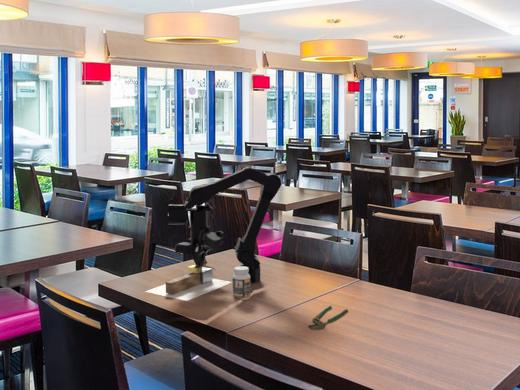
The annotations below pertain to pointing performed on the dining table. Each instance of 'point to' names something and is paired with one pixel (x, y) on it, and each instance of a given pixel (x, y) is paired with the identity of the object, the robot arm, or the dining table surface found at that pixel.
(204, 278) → the hinge block
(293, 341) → the dining table surface
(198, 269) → the block
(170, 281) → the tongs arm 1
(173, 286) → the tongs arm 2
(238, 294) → the pill bottle
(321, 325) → the pliers
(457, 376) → the dining table surface
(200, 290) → the board
